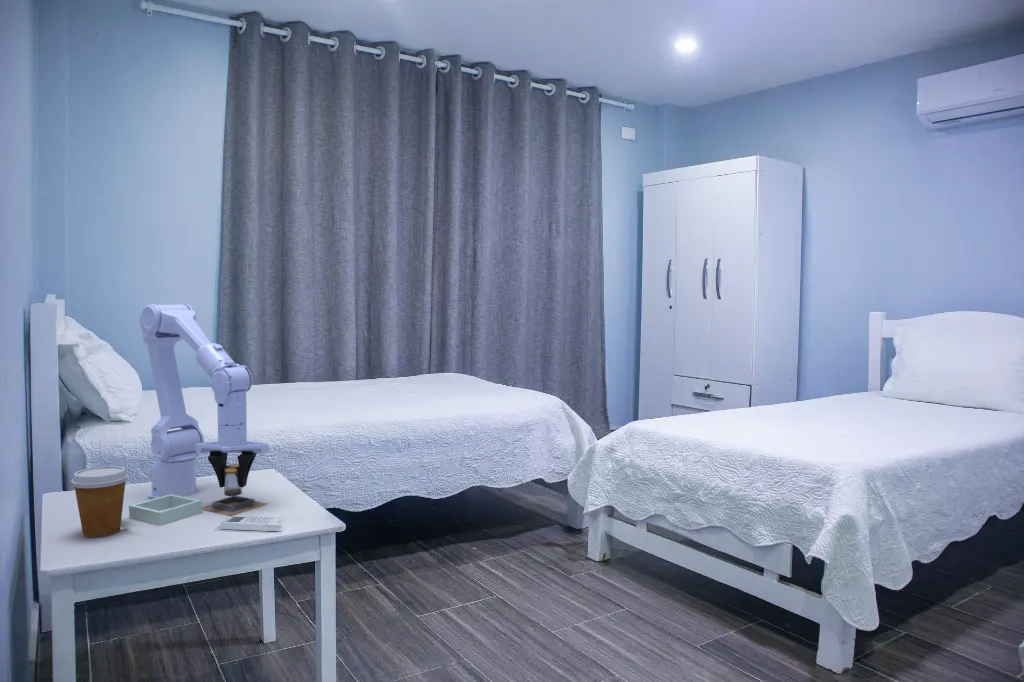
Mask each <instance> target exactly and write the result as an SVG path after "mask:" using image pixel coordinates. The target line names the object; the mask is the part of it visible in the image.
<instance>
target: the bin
mask: <svg viewBox="0 0 1024 682" xmlns="http://www.w3.org/2000/svg"><path fill="white" fill-rule="evenodd" d="M202 503H203V501H202V500H201V499H196V498H190V497H188V496H184V497H182V496H178V495H173V494H170V495H166V496H161V497H158V498H151V499H148V500H146V501H145V500H144V501H141V502H138V503H134V504H130V505H128V516H129V517H128V518H129V519H132V520H135V521H141V522H143V523H148V524H152V525H154V526H155V525H156V526H158V527H159V526H163V525H166V524H171V523H173V522H176V521H180V520H182V519H185V518H188V517H189V518H190V517H192V516H193V517H194V516H196V515H199V514H202V512H203V510H202V507H203V504H202Z"/></svg>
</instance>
